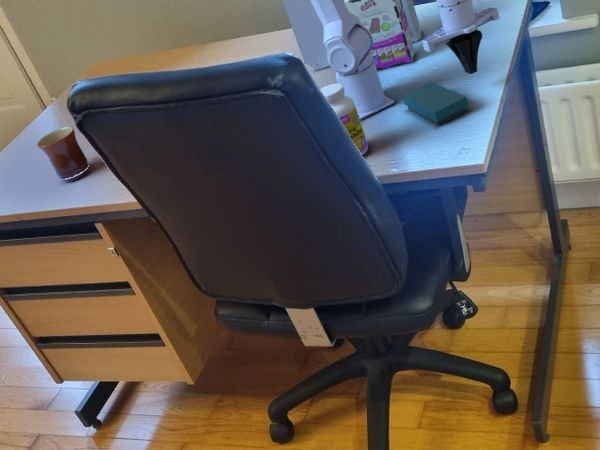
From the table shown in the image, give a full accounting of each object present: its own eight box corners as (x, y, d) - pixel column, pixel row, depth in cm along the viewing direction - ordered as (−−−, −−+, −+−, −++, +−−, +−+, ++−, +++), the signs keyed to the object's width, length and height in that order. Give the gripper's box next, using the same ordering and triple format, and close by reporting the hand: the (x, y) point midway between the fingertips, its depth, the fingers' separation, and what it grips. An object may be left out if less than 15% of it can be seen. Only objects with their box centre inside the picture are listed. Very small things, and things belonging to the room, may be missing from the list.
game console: (422, 40, 174) (398, -47, 165) (308, 73, 182) (279, -8, 172) (421, 31, 179) (398, -53, 169) (310, 64, 186) (282, -16, 177)
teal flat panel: (406, 110, 146) (401, 96, 145) (435, 95, 147) (431, 81, 146) (439, 127, 136) (434, 112, 134) (470, 111, 137) (466, 96, 135)
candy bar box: (415, 53, 169) (395, -20, 161) (413, 62, 165) (392, -12, 157) (367, 64, 173) (344, -6, 165) (363, 74, 169) (340, 2, 161)
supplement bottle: (345, 167, 135) (322, 102, 129) (327, 158, 141) (304, 95, 134) (376, 149, 137) (355, 84, 131) (357, 141, 142) (335, 77, 136)
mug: (101, 167, 176) (79, 127, 171) (69, 188, 172) (46, 148, 167) (77, 161, 185) (56, 123, 180) (46, 180, 181) (24, 143, 176)
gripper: (429, 21, 130) (448, 93, 136) (502, -14, 132) (517, 59, 139) (409, 15, 136) (429, 84, 142) (479, -19, 138) (495, 51, 145)
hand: (471, 71), depth 141 cm, fingers closed
